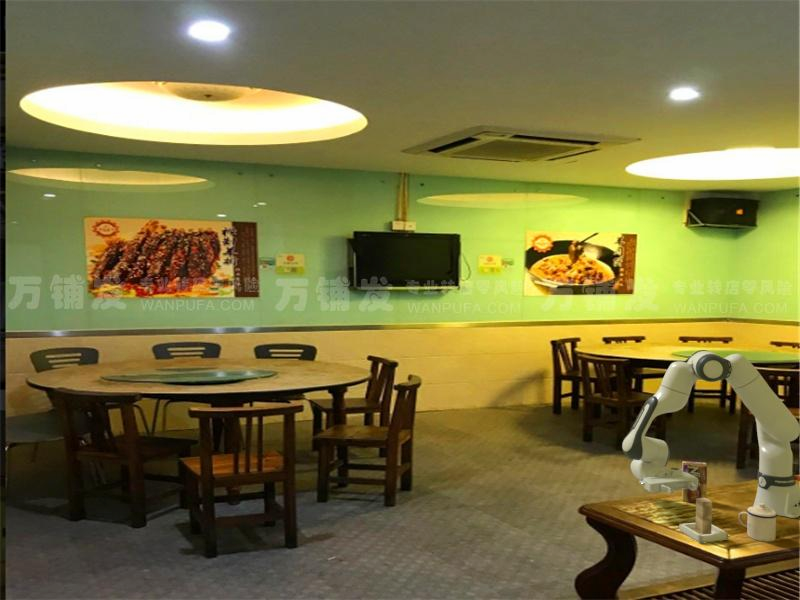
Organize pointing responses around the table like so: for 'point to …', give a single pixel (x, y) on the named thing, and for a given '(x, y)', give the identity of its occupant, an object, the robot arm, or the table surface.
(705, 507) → the wooden block
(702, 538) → the tray
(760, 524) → the teacup with lid
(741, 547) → the table surface
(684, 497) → the candy box
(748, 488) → the table surface
